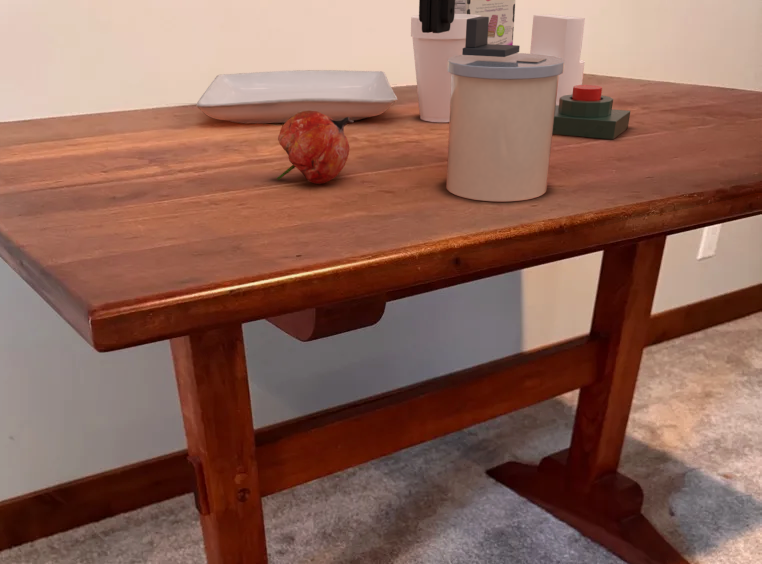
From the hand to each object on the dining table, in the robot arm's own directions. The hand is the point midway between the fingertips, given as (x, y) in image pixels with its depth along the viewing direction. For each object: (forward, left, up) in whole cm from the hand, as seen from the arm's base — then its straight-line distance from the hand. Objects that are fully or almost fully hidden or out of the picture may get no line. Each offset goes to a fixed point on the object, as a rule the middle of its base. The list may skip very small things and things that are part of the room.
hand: (436, 31), depth 77 cm
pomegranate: (+11, +6, -14) cm, 19 cm away
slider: (-6, 0, -2) cm, 6 cm away
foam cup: (+13, -32, -14) cm, 37 cm away
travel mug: (-7, 0, -14) cm, 16 cm away
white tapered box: (+3, -50, -14) cm, 52 cm away
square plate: (+35, -29, -14) cm, 48 cm away
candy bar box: (+18, -58, -14) cm, 62 cm away
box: (-7, -32, -14) cm, 36 cm away
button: (-7, -32, -11) cm, 34 cm away
